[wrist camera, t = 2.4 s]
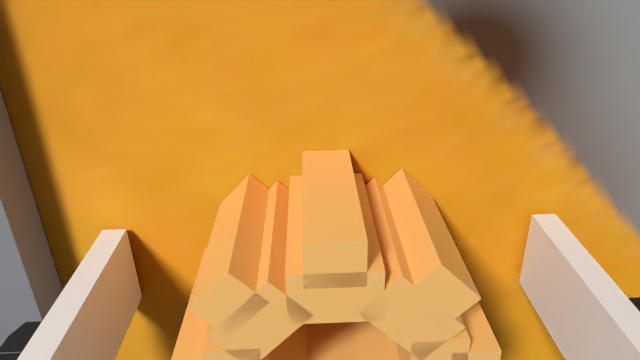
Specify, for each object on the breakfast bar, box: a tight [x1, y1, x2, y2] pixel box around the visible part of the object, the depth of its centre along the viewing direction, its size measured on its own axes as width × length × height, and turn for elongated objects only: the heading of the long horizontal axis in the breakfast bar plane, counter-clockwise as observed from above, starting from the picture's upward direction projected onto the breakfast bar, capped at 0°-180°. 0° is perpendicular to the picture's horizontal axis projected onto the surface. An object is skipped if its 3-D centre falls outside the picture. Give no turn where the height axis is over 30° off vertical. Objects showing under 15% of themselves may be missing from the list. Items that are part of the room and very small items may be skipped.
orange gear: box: [171, 150, 502, 360], centre depth 15 cm, size 8×8×5 cm
